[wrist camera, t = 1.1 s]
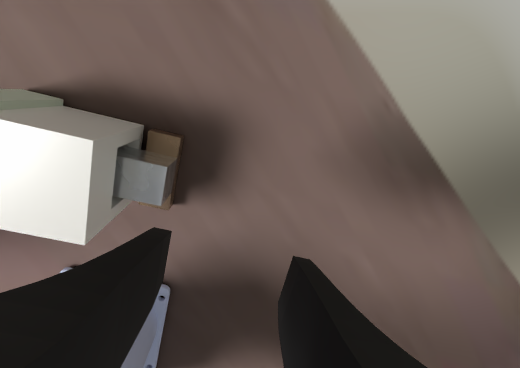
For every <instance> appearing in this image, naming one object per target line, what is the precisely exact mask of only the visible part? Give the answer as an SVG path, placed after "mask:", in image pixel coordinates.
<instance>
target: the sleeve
mask: <svg viewBox="0 0 520 368" xmlns="http://www.w3.org/2000/svg"><path fill="white" fill-rule="evenodd" d="M143 131H144V125H141V124H137V123H133V122H129V121H125V120H121V119H116V118H112V117H108V116H104V115H100V114H95V113H91V112H87V111H83V110H79V109H75V108H70V107H66V106H52V107H37V108H21V109H6V110H0V229H3V230H8V231H13V232H18V233H23V234H29V235H34V236H39V237H44V238H50V239H55V240H60V241H65V242H70V243H76V244H81V245H86V244H87V243H88V242H89V241H90V240H91V239H92V238H93V237H94V236H95V235H96V234H97V233H99V232H100V231H101V230H102V229H103V228H104V227H105V226H106V225H107V224H108V223H109V222H110V221H112V220H113V219H114V218H115V217H116V216H117V215H118V214H119V213H120V212H121V211H122V210H123V209H125V208H126V207H127V206H128V205H129V204H130V203H131V202H132V201H133V200H129V199H124V198H120V197H115V196H112V195H113V186H114V177H115V167H116V158H117V148H118V147H121V146H128V147H132V148H136V149H141V146H142V139H143Z"/></svg>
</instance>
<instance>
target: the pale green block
mask: <svg viewBox="0 0 520 368" xmlns="http://www.w3.org/2000/svg"><path fill="white" fill-rule="evenodd" d="M52 106H63V99H60V98H56V97H52V96H48V95H44V94H40V93H36V92H31V91H27V90H23V89H0V110H6V109H21V108H37V107H52Z"/></svg>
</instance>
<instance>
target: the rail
mask: <svg viewBox="0 0 520 368" xmlns="http://www.w3.org/2000/svg"><path fill="white" fill-rule="evenodd" d="M183 140H184V136H183V135H178V134H174V133H170V132H166V131H162V130H158V129H151V130H148V137H147V145H146V151H145V150H141V149H136V148H132V147H128V146H121V147H118V148H117V158H116V167H115V177H114V186H113V195H112V196H115V197H120V198H124V199H129V200H134V201H139V204H141V205H145V206H150V207H155V208H160V209H164V210H169V209H170V208H171V206H172V204H173V198H174V192H175V187H176V181H177V175H178V169H179V163H180V158H181V152H182V146H183Z"/></svg>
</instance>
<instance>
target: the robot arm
mask: <svg viewBox="0 0 520 368" xmlns="http://www.w3.org/2000/svg"><path fill="white" fill-rule="evenodd" d="M171 232H172V231H169V230H164V229H159V228H155V227H153V228H152V229H150V230H148V231H146V232H144V233H142V234H141V235H139V236H137V237H135V238H134V239H132V240H130V241H128V242H126V243H125V244H123V245H121V246H119V247H117V248H115V249H113V250H111V251H109V252H107V253H105V254H103V255H101V256H99V257H97V258H95V259H93V260H90V261H88V262H86V263H84V264H82V265H80V266H77V267H75V268H71V267H66V268H64V269H63V270H62V271H61V272H60V274H57V275H54V276H52V277H49V278H46V279H44V280H41V281H38V282H35V283H32V284H28V285H25V286H22V287H19V288H15V289H12V290H9V291H6V292H2V293H0V368H156V365H157V360H158V354H159V349H160V344H161V338H162V333H163V328H164V322H165V317H166V312H167V306H168V301H169V296H170V288H169V287H168V286H167V285H164V284H162V282H163V278H164V272H165V266H166V261H167V255H168V249H169V243H170V238H171ZM160 296H164V297H165V298H162V297H160ZM278 326H279V337H280V344H281V351H282V358H283V364H284V368H427V367H426V366H424V365H423V364H422V363H420V362H419V361H417V360H416V359H415V358H413V357H412V356H411V355H409V354H408V353H407V352H406V351H404V350H403V349H402V348H400V347H399V346H398V345H397V344H396V343H394V342H393V341H392V340H391V339H390V338H388V337H387V336H386V335H385V334H384V333H382V332H381V331H380V330H379V329H378V328H377V327H375V326H374V325H373V324H372V323H371V322H370V321H369V320H368V319H367V318H366V317H365V316H364V315H363V314H362V313H361V312H359V311H358V310H357V309H356V308H355V307H354V306H353V305H352V304H351V303H350V302H349V301H348V300H347V299H346V297H345V296H344V295H343V294H342V293H341V292H340V291H339V290H338V289H337V288H336V287H335V286H334V285H333V284H332V283H331V281H330V280H329V279H328V278H327V277H326V276H325V275H324V274H323V273H322V272H321V270H320V269H319V268H318V267H317V266H316V265H315V264H314V263H313V262H312V261H311V260H310V259H305V258H300V257H295V256H293V258H292V261H291V264H290V267H289V271H288V274H287V277H286V280H285V283H284V286H283V289H282V292H281V295H280V298H279V301H278Z"/></svg>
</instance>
